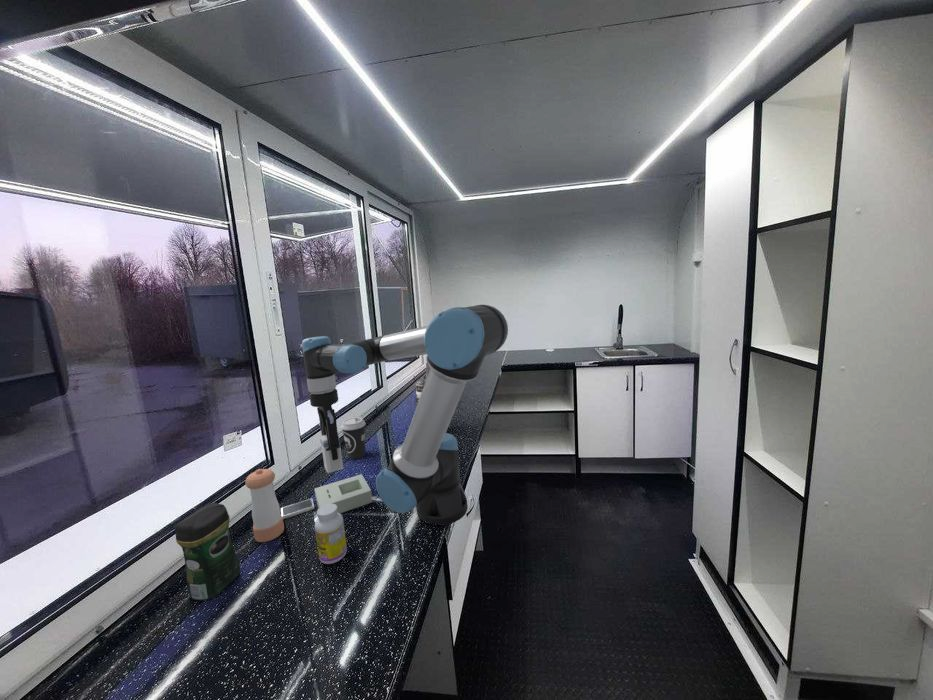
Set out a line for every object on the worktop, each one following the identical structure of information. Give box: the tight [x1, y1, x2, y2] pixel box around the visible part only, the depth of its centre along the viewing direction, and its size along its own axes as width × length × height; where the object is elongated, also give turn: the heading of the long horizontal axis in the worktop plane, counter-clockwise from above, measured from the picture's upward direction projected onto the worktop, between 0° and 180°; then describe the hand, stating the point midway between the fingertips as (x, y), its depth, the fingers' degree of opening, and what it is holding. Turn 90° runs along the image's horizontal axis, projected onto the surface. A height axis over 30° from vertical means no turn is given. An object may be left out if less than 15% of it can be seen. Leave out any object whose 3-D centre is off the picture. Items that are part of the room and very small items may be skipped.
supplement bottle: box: [314, 504, 348, 565], centre depth 87 cm, size 7×7×13 cm
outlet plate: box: [314, 473, 373, 514], centre depth 111 cm, size 15×12×4 cm
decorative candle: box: [414, 378, 427, 407], centre depth 159 cm, size 9×9×25 cm
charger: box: [319, 435, 344, 474], centre depth 104 cm, size 4×4×10 cm
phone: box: [280, 497, 316, 520], centre depth 108 cm, size 5×9×1 cm, turn 120°
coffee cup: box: [340, 416, 366, 460], centre depth 141 cm, size 10×10×15 cm
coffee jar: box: [174, 502, 241, 601], centre depth 79 cm, size 10×8×19 cm
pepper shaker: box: [245, 468, 285, 543], centre depth 96 cm, size 7×7×19 cm
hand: (333, 465), depth 105 cm, fingers closed on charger, 4 cm apart
